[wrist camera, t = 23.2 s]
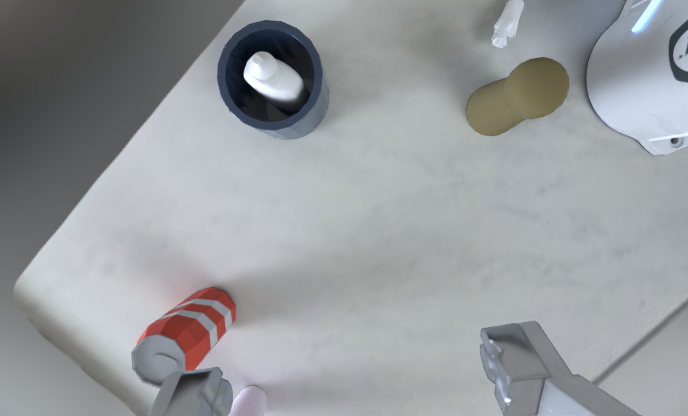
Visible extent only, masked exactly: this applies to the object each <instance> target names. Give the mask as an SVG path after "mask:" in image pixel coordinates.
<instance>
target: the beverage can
mask: <svg viewBox="0 0 688 416" xmlns="http://www.w3.org/2000/svg"><path fill="white" fill-rule="evenodd" d="M234 321H235V304H234V302H233V301H232V300H231V298H230V297H229V295H228V294H227V293H226V292H224V291H221V290H218V289H215V288H213V287H211V288H207V289H204V290H200V291H197V292H196V293H194V294H193V295H191V296H190V297H189V298H187V299H186V300H184V301H183V302H182V303H180V304H179V305H177V306H176V307H175V308H173V309H172V310H170V311H169V312H168V313H166V314H165V315H163V316H162V317H161V318H159V319H158V320H157V321H155V322H154V323H152V324H151V325H150V326H148V328H147V329H146V330H145V332H144V333H143V334H142V336H141V337H140V338H139V340H138V341H137V345H136V347H135V348H134V349H133V351H132V369H133V371H134V372H135V373H136V375H137V376H138V377H139V379H140V380H141V381H142V382H143V383H145V384H148V385H151V386H154V387H156V388H161V386H162V384H163V382H164V380H165V378H166V377H167V376H168V375H169V374H170V373H175V372H182V371H191V370H195V369H196V367H197V366H198V365H199V364H200V363H201V361H202V360H203V359H204V358H205V357H206V355H207V354H208V353H209V352H210V351H211V350H212V348H213V347H214V346H215V345H216V344H217V342H218V341H219V340H220V339H221V338H222V336H223V335H224V334H225V333H226V332H227V330H228V329H229V328H230V326H231V325H232V324H233V323H234Z"/></svg>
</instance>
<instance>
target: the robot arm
mask: <svg viewBox="0 0 688 416" xmlns="http://www.w3.org/2000/svg"><path fill="white" fill-rule="evenodd" d="M586 83H587V91H588V95H589V98H590V101H591V104H592V106H593V108H594V110H595V111H596V113H597V114H598V115H599V117H600V118H601V119H602V120H603V121H604V122H605V123H606V124H607V125H608V126H610V127H611V128H613V129H614V130H616V131H618V132H620V133H622V134H625V135H627V136H630V137H632V138H634V139H636V140H638V141H639V142H640V144H641V145H642V146H643V147H644V148H645V149H646V150H647V151H648V152H650V153H651V154H653V155H656V156H660V155H665V154H669V153H672V152H674V151H677V150H679V149H682V148H684V147H686V146H688V0H627V1H626V3H625V5H624V8H623V10H622V12H621V15H620V16H619V17H618V19H617V20H616V21H615V22H614V23H613V24H612V25H611V26H610V27H609V28H608V29H607V30H606V31H605V32H604V33H603V34H602V36H601V37H600V38H599V40H598V41H597V43H596V45H595V47H594V49H593V51H592V53H591V56H590V59H589V62H588V67H587V74H586ZM671 139H672V140H673V141H672V143H671ZM480 336H481V339H482V341H483V343H482V344H481V345H480V355H481V360H482V364H483V367H484V370H485V373H486V375H487V377H488V379H489V380H490V381H492V382H493V383H494V384H495V393H494V394H495V397H496V399H497V401H498V404H499V406H500V408H501V411H502V413H503V415H504V416H641V415H639V414H638V413H637V412H635V411H634V410H632V409H631V408H629V407H627V406H626V405H624V404H623V403H621V402H620V401H618V400H617V399H615V398H614V397H612V396H611V395H609V394H608V393H606V392H605V391H603V390H602V389H600V388H599V387H597V386H596V385H594V384H593V383H591V382H590V381H588V380H587V379H585V378H584V377H582V376H581V375H579V374H575V375H573V374H572V373H571V371H570V370H569V368H568V367H567V365H566V364H565V362H564V361H563V359H562V358H561V356H560V355H559V353H558V352H557V350H556V349H555V347H554V346H553V344H552V343H551V341H550V340H549V338H548V337H547V335H546V334H545V332H544V331H543V329H542V328H541V326H540V325H539V324H538V323H537V322H536V321H529V322H523V323H517V324H516V323H513V324H507V325H500V326H494V327H488V328H482V330H481V335H480ZM222 374H223V372H222V371H221V370H220V368H219V367H214V368H206V369H199V370H191V371H182V372H175V373H170V374H169V375H168V376H167V377H166V378H165V380H164V382H163V384H162V386H161V388H160V391H159V393H158V395H157V397H156V399H155V401H154V403H153V406H152V408H151V410H150V412H149V414H148V416H228V415H229V413H230V411H231V407H232V403H233V391H232V387H231V384H230V383H229V381H227V380H225V379H223V378H221V377H222Z"/></svg>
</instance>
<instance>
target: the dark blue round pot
mask: <svg viewBox="0 0 688 416" xmlns="http://www.w3.org/2000/svg"><path fill="white" fill-rule="evenodd" d="M263 51H264V52H267V53H269V54H271V55H272V56H273V57H274V59H277V60H279V61H281V62H284V63H285V64H287V65H288V66H290V67H291V68H292V69H294V70H295V71H296V72H297V73H298V74H299V75H300V77H301V78H302V80H303V81H304V83H305V85H306V87H307V89H308V90H309V92H310V94H311V95H310V97H309V99H308V101H307V103H306V104H305V105H304V106H303V107H302V108H301V110H300V111H299V112H290V111H286V110H283V109H280V108H278V107H276V106H275V105H273V104H272V103H270V102H269V101H268V100H266V99H265V98H264V97H263V96H262V95H261V94H260V93H258V92H257V91H256V90H255V89H254V88H253V87H252V86H251V85H250V84H249V83H248V82H247V81H246V80H245V78H244V70H245V67H246V64H247V61H248V60H249V59H250V58H251V57H252V56H253V55H254V54H255V53H257V52H263ZM217 80H218V85H219V89H220V93H221V96H222V99H223V101H224V102H225V104H226V106H227V107H228V109H229V111H230V112H231V113H232V114H233V115H235V116H236V117H237V118H238V119H239V120H240V121H241V122H243V123H245V124H247V125H249V126H251V127H253V128H255V129H257V130H259V131H261V132H263V133H266V134H268V135H270V136H272V137H275V138H279V139H296V138H300V137H303V136H305V135H307V134H309V133H310V132H312V131H313V130H314V129H315V128H316V127H317V126H318V125H319V124H320V123H321V121H322V120H323V118H324V116H325V114H326V111H327V108H328V104H329V89H328V84H327V80H326V76H325V73H324V70H323V66H322V63H321V60H320V56H319V54H318V52H317V51H316V49H315V47H314V45H313V44H312V42H311V41H310V39H309V38H307V37H306V36H305V35H304V34H303V33H302V32H301V31H300V30H299V29H297V28H295V27H293V26H291V25H288V24H286V23H284V22H281V21H269V20H264V21H260V22H256V23H252V24H249V25H247V26H246V27H244V28H243V29H241V30H240V31H238V32H236V33H235V34H234V35H233V36H232V38H231V39H230V40H229V41H228V43H227V44H226V45H225V47H224V49H223V52H222V54H221V57H220V60H219V63H218V75H217Z"/></svg>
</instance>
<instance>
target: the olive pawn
mask: <svg viewBox="0 0 688 416" xmlns="http://www.w3.org/2000/svg"><path fill="white" fill-rule="evenodd" d="M568 89H569V77H568V74H567V72H566V70H565V68H564V67H563V66H562V65H561V64H560V63H558V62H556V61H555V60H553V59H550V58H544V57H541V58H534V59H530V60H527V61H525V62H523V63H521V64H520V65H518V66H517V67H516V68H515V69H514V70H513V71H512V72H511V73H510V75H509V77H507V78H504V79H501V80H498V81H496V82H493V83H490V84H487V85H485V86H483V87H481V88H479V89H477V90H476V91H475V92H474V93H473V94H472V96H471V97H470V99H469V101H468V104H467V109H466V112H467V119H468V121H469V123H470V125H471V126H472V127H473V129H474V130H475V131H477V132H479V133H480V134H482V135H487V136H495V135H499V134H501V133H504V132H506V131H507V130H509V129H510V128H512V127H514V126H515V125H517V124H518V123H520V122H522V121H523V120H525V119H526V118H527V119H535V118H541V117H544V116H546V115H548V114H550V113H552V112H553V111H555V110H556V109H557V108H558V107H559V106H560V105H561V104H562V103H563V101H564V100H565V98H566V97H567V93H568Z"/></svg>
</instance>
